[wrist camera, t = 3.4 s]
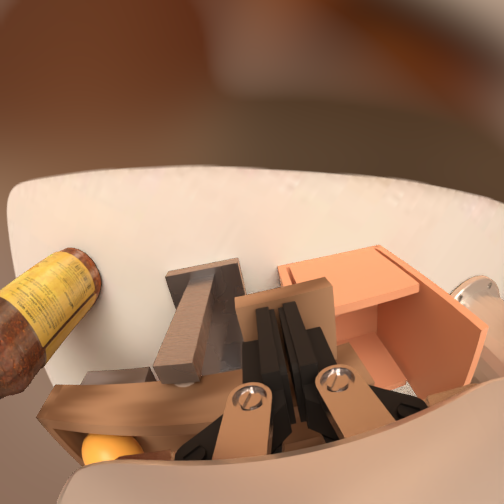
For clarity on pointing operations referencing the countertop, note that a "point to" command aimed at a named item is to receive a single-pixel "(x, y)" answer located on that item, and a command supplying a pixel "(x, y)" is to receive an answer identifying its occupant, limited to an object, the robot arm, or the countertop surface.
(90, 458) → the ball
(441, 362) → the cup
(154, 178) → the countertop surface
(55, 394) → the brown wooden tray
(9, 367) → the sauce bottle
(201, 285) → the stand
